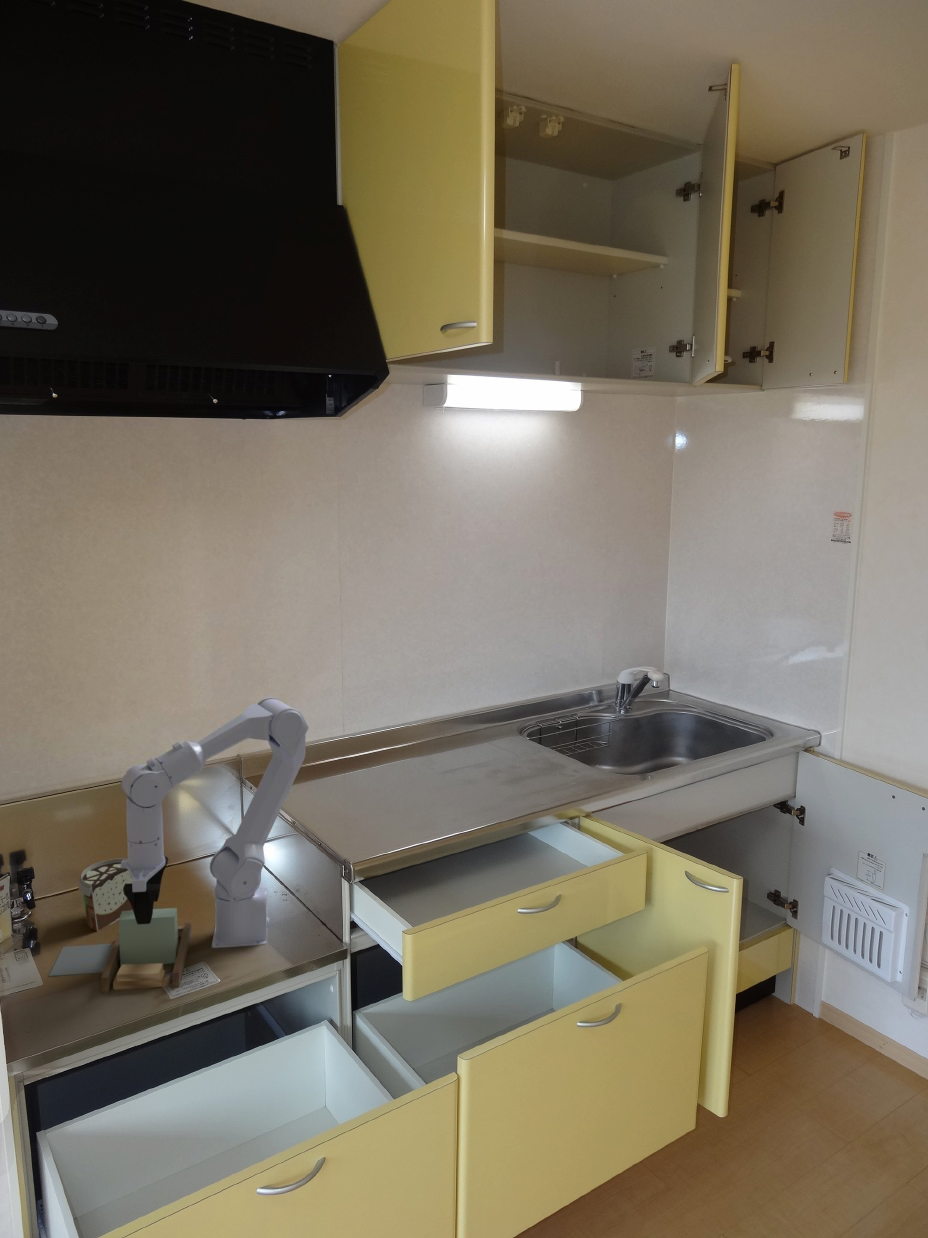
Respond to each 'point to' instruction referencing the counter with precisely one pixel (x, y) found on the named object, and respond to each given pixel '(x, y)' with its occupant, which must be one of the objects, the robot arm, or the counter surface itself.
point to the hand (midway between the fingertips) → (147, 912)
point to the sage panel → (149, 938)
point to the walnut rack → (178, 966)
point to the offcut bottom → (165, 984)
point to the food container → (104, 892)
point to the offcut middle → (139, 983)
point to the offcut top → (140, 972)
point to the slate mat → (82, 960)
